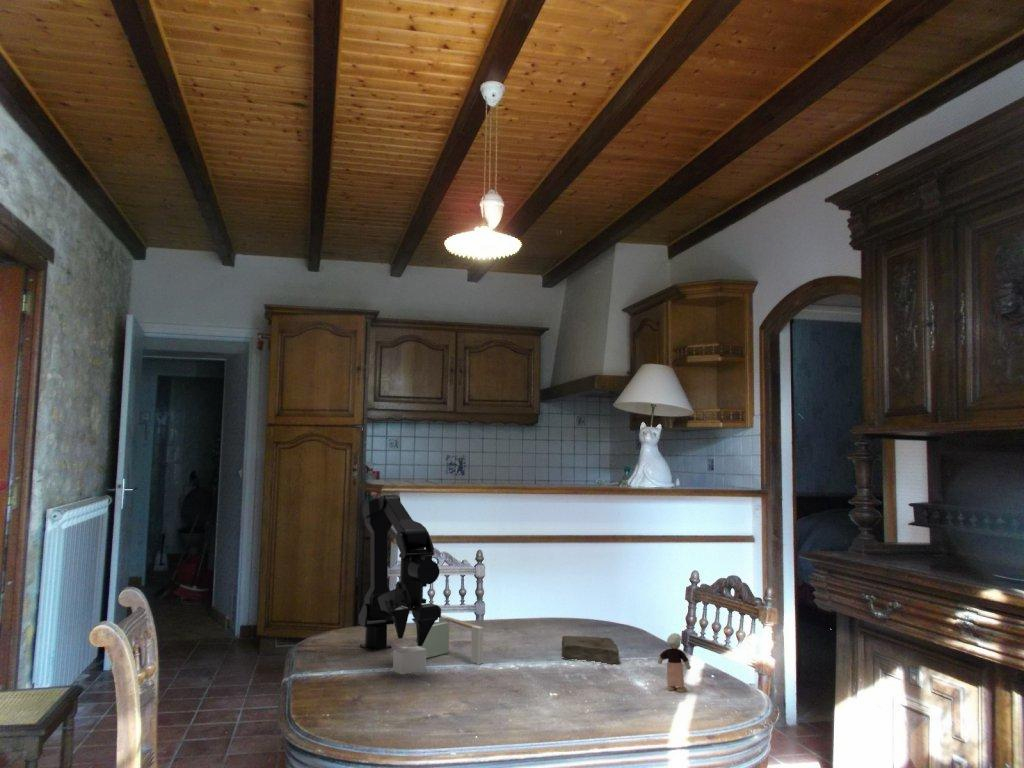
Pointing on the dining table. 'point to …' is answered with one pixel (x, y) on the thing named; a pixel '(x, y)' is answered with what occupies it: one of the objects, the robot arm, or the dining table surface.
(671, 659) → the grandmother figurine
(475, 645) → the wall frame
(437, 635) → the door
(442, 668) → the dining table surface
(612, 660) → the brown stone slab
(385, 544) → the robot arm
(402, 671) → the block
